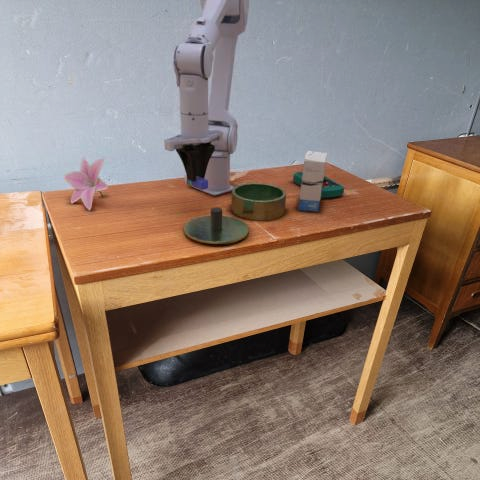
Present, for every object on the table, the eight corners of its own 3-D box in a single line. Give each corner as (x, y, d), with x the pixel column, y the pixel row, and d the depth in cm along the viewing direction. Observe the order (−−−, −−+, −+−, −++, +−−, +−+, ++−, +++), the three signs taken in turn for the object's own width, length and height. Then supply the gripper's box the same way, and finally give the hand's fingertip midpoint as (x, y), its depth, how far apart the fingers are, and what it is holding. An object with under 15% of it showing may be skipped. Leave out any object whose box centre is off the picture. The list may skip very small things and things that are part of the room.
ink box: (318, 212, 104) (326, 161, 97) (297, 210, 105) (303, 159, 98) (320, 200, 111) (327, 151, 104) (300, 198, 111) (306, 149, 105)
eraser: (191, 181, 101) (191, 173, 100) (208, 188, 98) (208, 179, 96) (184, 183, 100) (184, 174, 99) (201, 190, 96) (201, 181, 95)
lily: (67, 198, 109) (47, 169, 100) (109, 174, 111) (92, 143, 102) (87, 228, 104) (68, 200, 95) (130, 202, 105) (115, 172, 97)
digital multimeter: (320, 200, 111) (321, 189, 109) (291, 181, 122) (292, 171, 120) (344, 197, 113) (346, 186, 112) (314, 179, 124) (315, 168, 123)
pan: (220, 208, 104) (220, 190, 101) (256, 196, 111) (257, 179, 109) (258, 225, 97) (260, 205, 94) (294, 211, 104) (296, 193, 102)
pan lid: (170, 231, 93) (169, 207, 90) (218, 215, 101) (218, 193, 98) (214, 253, 85) (214, 228, 82) (261, 234, 93) (263, 211, 90)
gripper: (178, 120, 83) (181, 191, 91) (233, 111, 92) (232, 177, 100) (156, 114, 87) (160, 182, 95) (211, 106, 96) (211, 169, 104)
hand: (195, 179), depth 98 cm, fingers closed on eraser, 2 cm apart
